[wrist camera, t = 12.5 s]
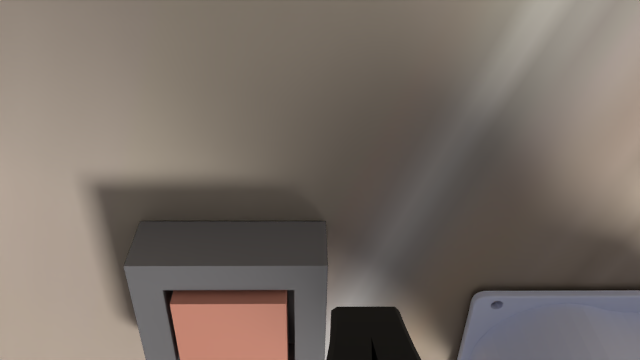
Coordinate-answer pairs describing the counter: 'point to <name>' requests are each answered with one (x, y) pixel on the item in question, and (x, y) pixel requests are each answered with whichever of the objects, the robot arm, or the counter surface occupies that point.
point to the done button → (231, 324)
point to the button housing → (229, 274)
